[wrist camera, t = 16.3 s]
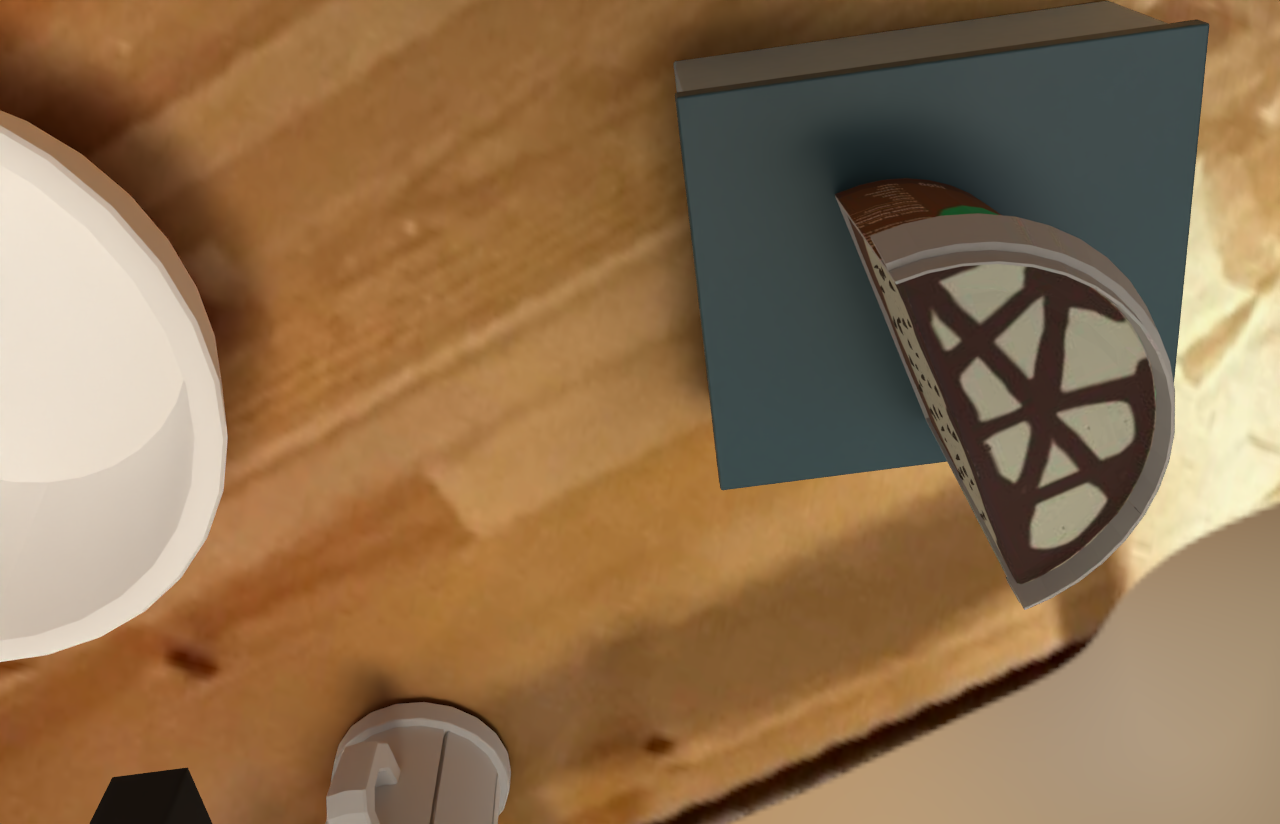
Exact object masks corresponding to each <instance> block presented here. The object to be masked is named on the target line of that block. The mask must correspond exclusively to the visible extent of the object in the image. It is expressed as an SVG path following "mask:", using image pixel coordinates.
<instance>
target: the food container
mask: <svg viewBox="0 0 1280 824" xmlns="http://www.w3.org/2000/svg"><path fill="white" fill-rule="evenodd" d="M834 195H835V197H836V200H837V202H838V205H839V207H840V209H841V212H842V214H843V217H844V219H845V222H846V224H847V227H848V229H849V232H850V234H851V237H852V239H853V241H854V244H855V246H856V249H857V251H858V254H859V256H860V259H861V261H862V264H863V266H864V269H865V271H866V274H867V276H868V278H869V281H870V283H871V286H872V288H873V291H874V293H875V296H876V298H877V301H878V303H879V306H880V308H881V310H882V313H883V315H884V318H885V320H886V323H887V325H888V328H889V330H890V333H891V335H892V338H893V340H894V342H895V345H896V347H897V350H898V352H899V355H900V357H901V360H902V362H903V365H904V367H905V370H906V372H907V374H908V377H909V379H910V382H911V384H912V387H913V389H914V392H915V394H916V397H917V399H918V402H919V404H920V406H921V409H922V411H923V414H924V416H925V419H926V421H927V423H928V425H929V427H930V429H931V431H932V433H933V435H934V436H935V438H936V440H937V442H938V444H939V446H940V448H941V450H942V452H943V454H944V456H945V458H946V460H947V462H948V464H949V466H950V467H951V469H952V471H953V473H954V475H955V477H956V479H957V481H958V483H959V485H960V487H961V489H962V491H963V493H964V495H965V496H966V498H967V500H968V502H969V504H970V506H971V508H972V510H973V512H974V514H975V516H976V518H977V520H978V522H979V524H980V525H981V527H982V529H983V531H984V533H985V535H986V537H987V539H988V541H989V543H990V545H991V547H992V549H993V551H994V553H995V555H996V556H997V558H998V560H999V562H1000V564H1001V566H1002V568H1003V570H1004V572H1005V574H1006V576H1007V577H1006V579H1007V581H1008V583H1009V585H1010V587H1011V588H1012V590H1013V592H1014V594H1015V595H1016V597H1017V599H1018V601H1019V602H1020V603H1021V605H1022V606H1023V608H1024V610H1026V609H1028V608H1031V607H1033V606H1035V605H1037V604H1040V603H1042V602H1044V601H1046V600H1048V599H1051V598H1053V597H1054V596H1056V595H1058V594H1059V593H1061V592H1063V591H1064V590H1066V589H1068V588H1069V587H1071V586H1073V585H1074V584H1076V583H1078V582H1079V581H1080V580H1082V579H1083V578H1084V577H1085V576H1087V575H1088V574H1089V573H1091V572H1092V571H1093V570H1094V569H1096V568H1097V567H1098V566H1100V565H1101V564H1102V563H1103V562H1104V561H1105V560H1106V559H1107V558H1108V557H1109V556H1110V555H1111V554H1112V553H1113V552H1114V551H1115V550H1116V549H1117V548H1118V547H1119V546H1120V545H1121V544H1122V543H1123V542H1124V541H1125V540H1126V539H1127V538H1128V536H1129V535H1130V534H1131V532H1132V531H1133V530H1134V528H1135V527H1136V526H1137V525H1138V523H1139V522H1140V521H1141V519H1142V518H1143V517H1144V515H1145V513H1146V511H1147V510H1148V508H1149V506H1150V504H1151V503H1152V501H1153V499H1154V497H1155V495H1156V494H1157V492H1158V490H1159V487H1160V485H1161V482H1162V479H1163V477H1164V474H1165V471H1166V469H1167V466H1168V463H1169V459H1170V454H1171V449H1172V443H1173V438H1174V433H1175V388H1174V382H1173V377H1172V371H1171V365H1170V361H1169V358H1168V355H1167V353H1166V350H1165V348H1164V345H1163V343H1162V340H1161V337H1160V335H1159V332H1158V330H1157V328H1156V326H1155V324H1154V321H1153V319H1152V317H1151V315H1150V313H1149V310H1148V308H1147V306H1146V305H1145V303H1144V301H1143V300H1142V298H1141V297H1140V295H1139V294H1138V292H1137V291H1136V289H1135V288H1134V286H1133V285H1132V283H1131V282H1130V280H1129V279H1128V278H1127V277H1126V276H1125V275H1124V274H1123V273H1122V272H1121V271H1120V270H1119V269H1118V268H1117V267H1116V266H1115V265H1114V264H1113V263H1112V262H1111V261H1110V260H1109V259H1108V258H1107V257H1106V256H1104V255H1103V254H1101V253H1100V252H1098V251H1097V250H1095V249H1094V248H1093V247H1091V246H1090V245H1088V244H1087V243H1085V242H1084V241H1082V240H1081V239H1079V238H1077V237H1074V236H1072V235H1070V234H1068V233H1066V232H1063V231H1061V230H1059V229H1057V228H1054V227H1052V226H1050V225H1046V224H1042V223H1038V222H1034V221H1031V220H1027V219H1023V218H1019V217H1014V216H1003V215H1001V214H1000V213H998V212H997V211H995V210H994V209H992V208H991V207H990V206H988V205H987V204H985V203H984V202H982V201H981V200H979V199H977V198H976V197H974V196H973V195H971V194H970V193H968V192H965V191H963V190H961V189H958V188H956V187H954V186H951V185H948V184H944V183H940V182H935V181H931V180H924V179H911V178H901V179H887V180H879V181H875V182H871V183H866V184H862V185H858V186H855V187H853V188H850V189H847V190H845V191H842V192H840V193H837V194H834Z"/></svg>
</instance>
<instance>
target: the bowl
mask: <svg viewBox="0 0 1280 824" xmlns="http://www.w3.org/2000/svg"><path fill="white" fill-rule="evenodd" d="M227 441H228V435H227V425H226V416H225V407H224V398H223V389H222V381H221V374H220V367H219V361H218V354H217V347H216V340H215V335H214V332H213V330H212V327H211V324H210V321H209V319H208V316H207V313H206V311H205V308H204V305H203V302H202V300H201V297H200V294H199V292H198V289H197V287H196V285H195V283H194V282H193V280H192V278H191V277H190V275H189V273H188V272H187V270H186V268H185V267H184V265H183V263H182V262H181V260H180V258H179V257H178V255H177V253H176V252H175V250H174V248H173V246H172V245H171V243H170V241H169V240H168V239H167V237H166V236H165V235H164V234H163V233H162V232H161V230H160V229H159V228H158V227H157V226H156V225H155V223H154V222H153V221H152V220H151V219H150V218H149V216H148V215H147V214H146V213H145V212H144V211H143V209H142V208H141V207H140V206H139V205H138V204H137V202H136V201H135V200H134V199H133V198H132V197H131V196H130V194H129V193H127V192H126V191H125V190H124V189H123V188H121V187H120V186H119V185H118V184H117V183H115V182H114V181H113V180H112V179H111V178H109V177H108V176H107V175H106V174H105V173H104V172H102V171H101V170H100V169H99V168H98V167H96V166H95V165H94V164H93V163H92V162H90V161H89V160H88V159H87V158H86V157H85V156H83V155H82V154H81V153H79V152H77V151H76V150H74V149H72V148H71V147H69V146H67V145H66V144H64V143H62V142H61V141H59V140H57V139H56V138H54V137H52V136H51V135H49V134H47V133H46V132H44V131H42V130H41V129H39V128H37V127H36V126H34V125H32V124H31V123H29V122H27V121H26V120H23V119H21V118H18V117H16V116H13V115H11V114H8V113H6V112H3V111H1V110H0V662H3V661H10V660H16V659H23V658H30V657H36V656H43V655H49V654H52V653H55V652H58V651H60V650H63V649H66V648H69V647H72V646H75V645H78V644H81V643H84V642H87V641H90V640H93V639H96V638H99V637H101V636H103V635H105V634H107V633H108V632H110V631H112V630H114V629H115V628H117V627H119V626H120V625H122V624H124V623H126V622H127V621H129V620H131V619H133V618H134V617H136V616H138V615H139V614H141V613H143V612H145V611H146V610H147V609H148V608H149V607H150V606H151V605H152V604H153V603H154V602H156V601H157V600H158V599H159V598H160V597H161V596H162V595H163V594H164V593H165V592H166V591H167V590H168V589H170V588H171V587H172V586H173V585H174V584H175V583H176V582H177V581H178V580H179V579H180V578H181V577H182V575H183V574H184V572H185V571H186V569H187V568H188V566H189V565H190V563H191V562H192V560H193V559H194V557H195V556H196V554H197V553H198V551H199V550H200V548H201V546H202V545H203V543H204V542H205V540H206V539H207V537H208V534H209V531H210V528H211V525H212V522H213V520H214V517H215V514H216V511H217V508H218V505H219V502H220V499H221V496H222V493H223V490H224V478H225V466H226V454H227Z"/></svg>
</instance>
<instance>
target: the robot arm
mask: <svg viewBox="0 0 1280 824" xmlns="http://www.w3.org/2000/svg"><path fill="white" fill-rule="evenodd" d="M90 824H212V822H211V820H210V817H209V815H208V813H207V811H206V808H205V806H204V804H203V801H202V799H201V797H200V795H199V792H198V790H197V788H196V786H195V783H194V781H193V779H192V776H191V774H190V772H189V770H188V768H181V769H174V770H166V771H158V772H151V773H143V774H135V775H127V776H120V777H113V778H112V780H111V782H110V784H109V786H108V788H107V790H106V792H105V794H104V796H103V798H102V800H101V802H100V804H99V806H98V808H97V810H96V812H95V814H94V816H93V818H92V820H91V822H90Z"/></svg>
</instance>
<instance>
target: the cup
mask: <svg viewBox="0 0 1280 824" xmlns="http://www.w3.org/2000/svg"><path fill="white" fill-rule="evenodd" d="M510 778H511V770H510V763H509V757H508V752H507V750H506V749H505V747H504V746H503V744H502V742H501V741H500V739H499V737H498V736H497V734H496V733H495V732H494V731H492V730H491V729H490V728H489V727H488V726H486V725H485V724H484V723H483V722H482V721H480V720H479V719H478V718H476V717H474V716H472V715H470V714H467V713H465V712H463V711H461V710H458V709H456V708H454V707H450V706H445V705H439V704H433V703H427V702H418V703H403V704H395V705H392V706H389V707H386V708H383V709H380V710H377V711H374V712H371V713H369V714H368V715H367V716H365V717H364V718H362V719H361V720H360V721H358V722H357V723H355V724H354V725H353V726H351V728H350V729H349V731H348V732H347V733H346V735H345V736H344V738H343V739H342V741H341V742H340V744H339V746H338V750H337V753H336V757H335V761H334V766H333V771H332V777H331V785H330V788H329V791H328V794H327V797H326V803H327V821H326V824H498V816H499V815H500V813H501V812H502V811H503V810H504V807H505V804H506V800H507V796H508V793H509V789H510Z"/></svg>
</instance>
